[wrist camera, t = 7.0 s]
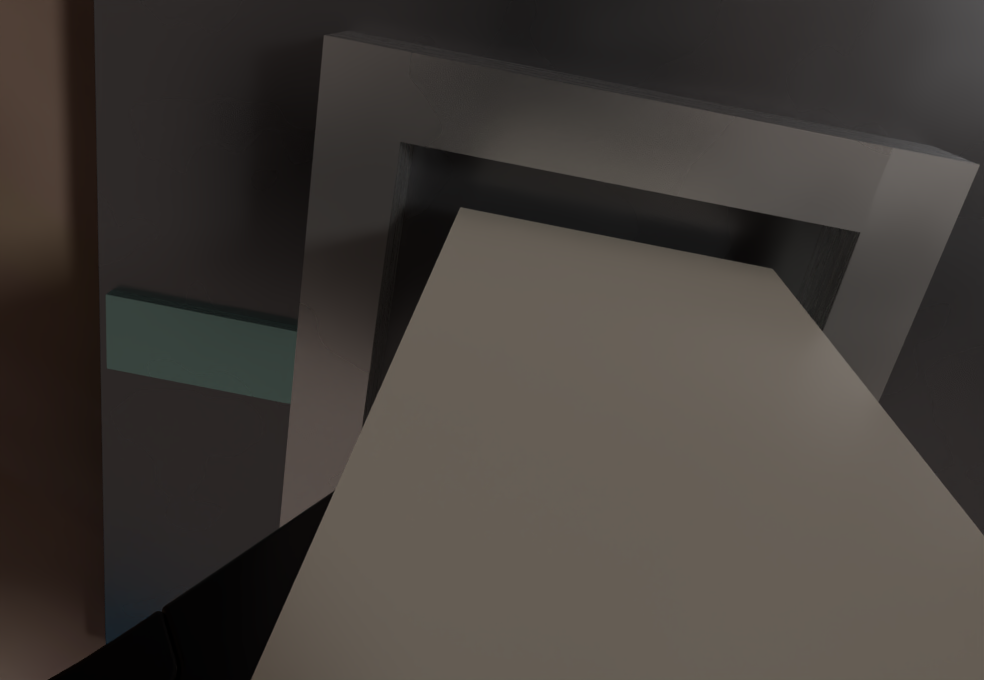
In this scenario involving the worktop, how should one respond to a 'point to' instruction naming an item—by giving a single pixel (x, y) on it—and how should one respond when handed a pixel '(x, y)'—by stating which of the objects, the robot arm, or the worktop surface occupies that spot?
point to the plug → (627, 488)
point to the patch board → (503, 191)
